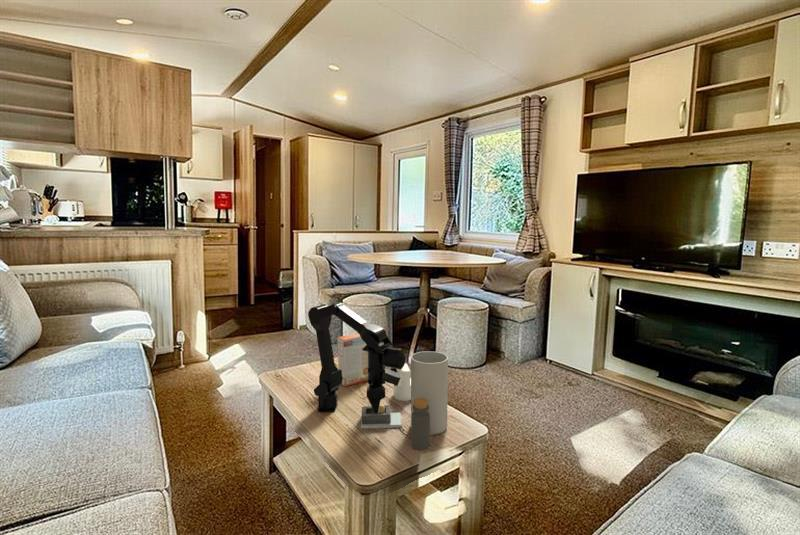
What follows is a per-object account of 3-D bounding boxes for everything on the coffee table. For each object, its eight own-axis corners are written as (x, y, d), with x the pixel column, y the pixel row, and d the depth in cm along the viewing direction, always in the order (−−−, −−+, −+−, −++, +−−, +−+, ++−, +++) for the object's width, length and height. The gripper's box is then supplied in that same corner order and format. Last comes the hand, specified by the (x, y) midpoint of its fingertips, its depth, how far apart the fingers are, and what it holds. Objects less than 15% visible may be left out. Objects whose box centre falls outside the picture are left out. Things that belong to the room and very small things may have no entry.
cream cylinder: (417, 399, 170) (417, 370, 168) (395, 401, 168) (395, 371, 167) (413, 390, 179) (413, 362, 177) (392, 391, 177) (392, 364, 176)
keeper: (360, 428, 147) (360, 411, 146) (362, 416, 156) (361, 400, 155) (401, 427, 148) (401, 410, 147) (400, 415, 157) (400, 399, 156)
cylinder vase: (403, 425, 149) (403, 355, 146) (430, 415, 157) (431, 349, 154) (426, 440, 139) (427, 366, 136) (454, 428, 147) (455, 358, 144)
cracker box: (365, 375, 195) (364, 331, 192) (372, 379, 190) (371, 334, 188) (337, 382, 187) (336, 336, 184) (344, 387, 182) (343, 339, 179)
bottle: (410, 441, 139) (410, 397, 137) (428, 440, 139) (428, 396, 137) (412, 451, 133) (412, 405, 131) (431, 450, 133) (431, 404, 131)
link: (361, 424, 148) (361, 416, 147) (362, 414, 154) (361, 406, 154) (390, 422, 148) (390, 414, 148) (389, 412, 155) (389, 404, 155)
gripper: (400, 373, 140) (400, 418, 142) (398, 354, 159) (398, 395, 161) (366, 374, 140) (366, 419, 142) (368, 355, 158) (368, 395, 160)
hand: (376, 406), depth 151 cm, fingers open, 9 cm apart
